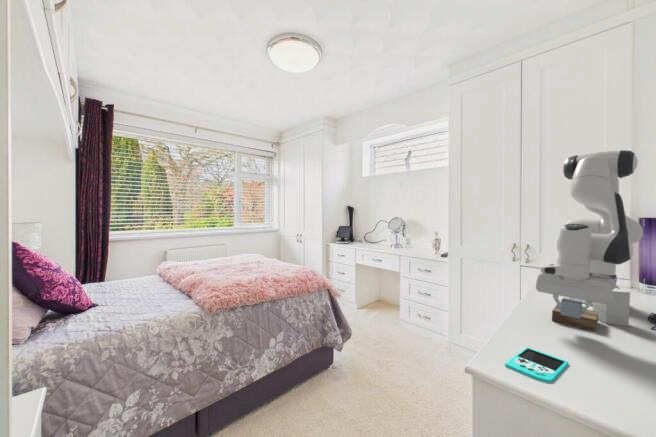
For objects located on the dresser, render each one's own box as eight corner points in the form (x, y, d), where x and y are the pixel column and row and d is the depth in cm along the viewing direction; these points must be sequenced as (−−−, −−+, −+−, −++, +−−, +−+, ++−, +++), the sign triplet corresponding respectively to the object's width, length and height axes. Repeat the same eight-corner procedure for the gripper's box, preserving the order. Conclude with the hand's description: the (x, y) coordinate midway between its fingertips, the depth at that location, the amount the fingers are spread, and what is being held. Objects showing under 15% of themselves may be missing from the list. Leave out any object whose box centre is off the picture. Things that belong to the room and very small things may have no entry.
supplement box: (629, 326, 102) (631, 292, 101) (605, 324, 103) (607, 290, 103) (613, 318, 109) (614, 287, 109) (591, 316, 111) (592, 285, 110)
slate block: (562, 310, 100) (563, 297, 100) (581, 314, 97) (582, 300, 96) (560, 314, 97) (561, 300, 97) (579, 318, 93) (580, 304, 93)
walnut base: (557, 313, 114) (557, 303, 114) (597, 322, 105) (598, 311, 105) (551, 320, 106) (552, 310, 106) (595, 331, 97) (596, 320, 97)
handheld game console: (503, 367, 74) (503, 362, 74) (526, 350, 84) (526, 345, 84) (549, 387, 66) (549, 381, 66) (568, 365, 76) (569, 360, 76)
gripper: (616, 274, 91) (614, 316, 91) (539, 264, 106) (537, 300, 106) (616, 278, 86) (613, 321, 87) (535, 267, 101) (534, 304, 102)
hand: (571, 309), depth 97 cm, fingers closed on slate block, 5 cm apart
